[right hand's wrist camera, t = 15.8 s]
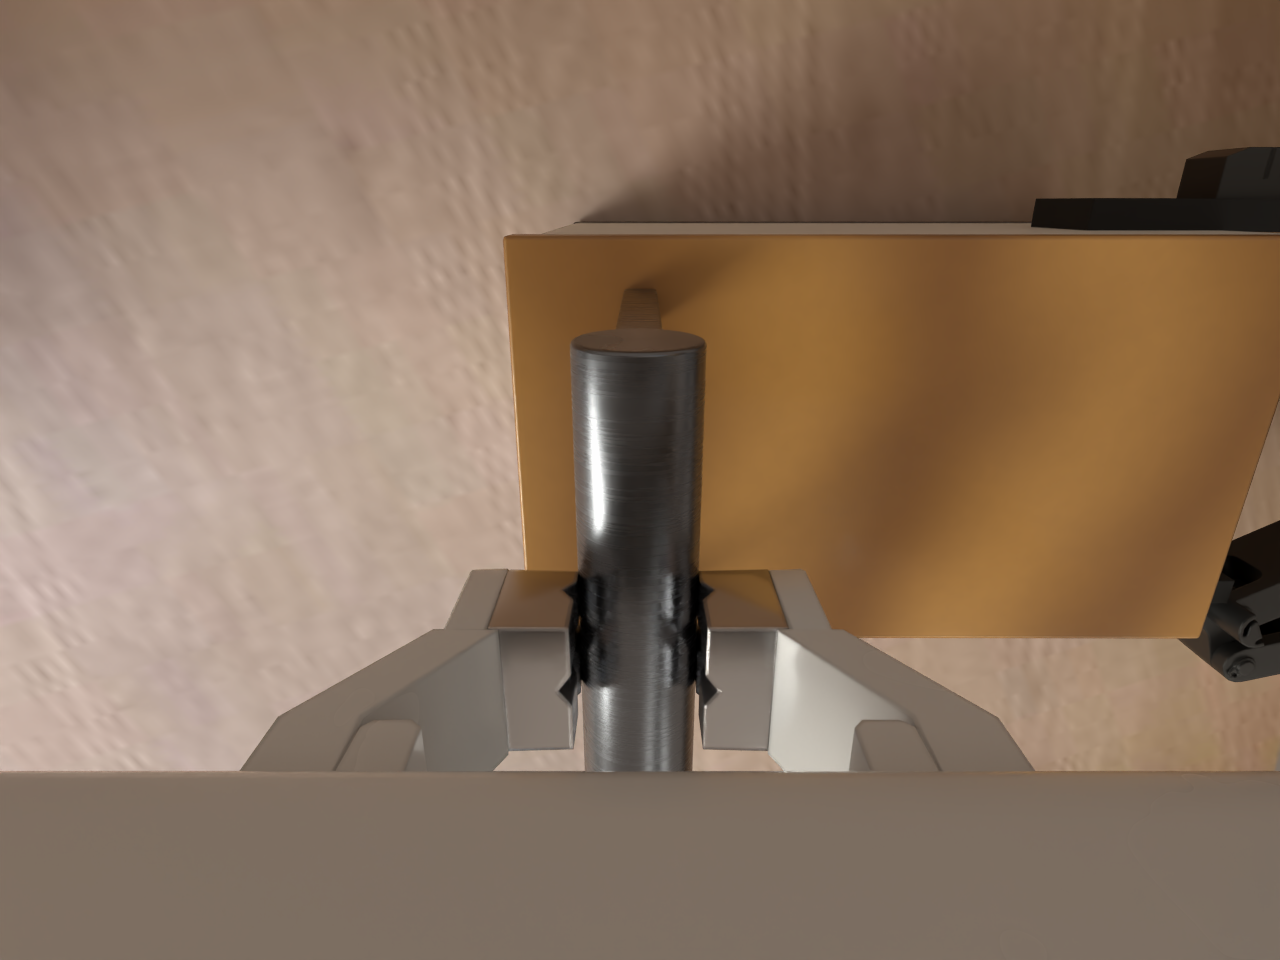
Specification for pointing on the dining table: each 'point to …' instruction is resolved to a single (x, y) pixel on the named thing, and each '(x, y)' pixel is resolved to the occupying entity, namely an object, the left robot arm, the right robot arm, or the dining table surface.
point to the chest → (838, 228)
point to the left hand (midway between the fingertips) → (1020, 408)
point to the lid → (881, 437)
